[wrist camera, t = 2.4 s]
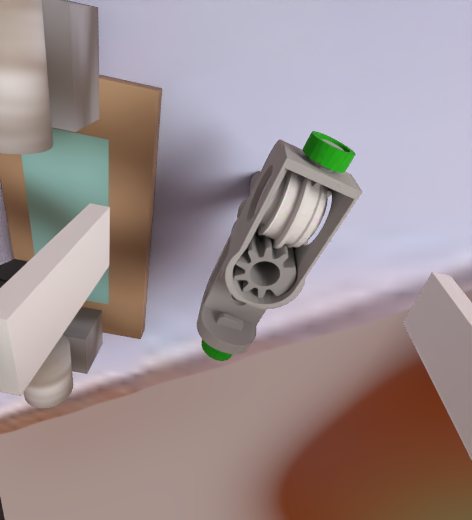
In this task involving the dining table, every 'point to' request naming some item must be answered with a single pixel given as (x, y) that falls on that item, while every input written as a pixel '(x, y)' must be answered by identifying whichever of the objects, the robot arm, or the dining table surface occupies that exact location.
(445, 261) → the dining table surface
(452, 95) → the dining table surface
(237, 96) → the dining table surface
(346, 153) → the mechanical component
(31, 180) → the mint panel frame
